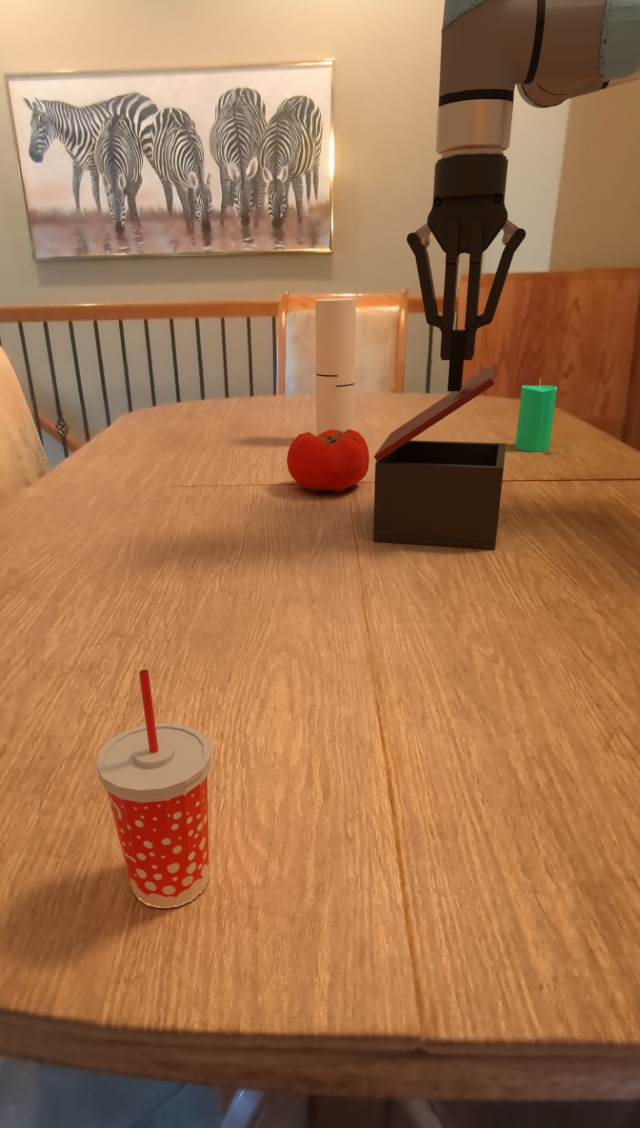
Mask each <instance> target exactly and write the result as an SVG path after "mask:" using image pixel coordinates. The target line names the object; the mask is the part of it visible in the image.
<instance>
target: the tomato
mask: <svg viewBox="0 0 640 1128" xmlns="http://www.w3.org/2000/svg"><path fill="white" fill-rule="evenodd" d="M342 432H343V431H342ZM342 432H341V431H340V430H332V429H330V430H328V431H326V432H323V433H321V434H320V435H319V436H317V435H315V434H314V433H312V432H310V431H307V432H302V433H299V434H298V435H297V436H296V437H295V438H294V439H293V440H292V442H291V443H290V446H289V448H288V450H287V456H286V465H287V470H288V473H289V474H290V476H291V478H292V479H293V480H294V481H295V482H296V484H297V485H298V486H300V487H303V488H305V489H308V490H310V491H312V492H315V493H317V492H324V491H330V492H342V491H344V490H346V489H348V488H351V487H352V486H354V485H355V484H357V483H360V481H362V480H363V479H364V478H365V477H366V476H367V473H368V471H369V467H370V450H369V447H368V443H367V441H366V439H365V437H363V436H362V435H361V433H360V432H359V431H356V430H355V429H354V430H350V429H348V430H346V431H345V432H344V433H342Z"/></svg>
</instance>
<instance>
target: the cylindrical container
mask: <svg viewBox="0 0 640 1128" xmlns="http://www.w3.org/2000/svg"><path fill="white" fill-rule="evenodd" d="M314 301H315V303H314V304H315V305H314V306H315V307H314V308H315V309H314V310H315V391H316V392H315V405H316V406H315V410H316V411H315V413H316V416H315V417H316V422H315V423H316V425H315V426H316V436H319V435H320V434H321V433H323V432H326V431H328V430H330V429H332V430H340V431H341V432H342V431H343V432H342V433H344V432H345V431H346V430H348V429H350V430H354V431H355V406H356V405H355V404H356V403H355V402H356V401H355V398H356V397H355V393H356V389H355V388H356V326H357V325H356V320H357V319H356V318H357V317H356V316H357V315H356V314H357V299H356V298H354V297H337V298H335V297H332V298H319V299H314Z"/></svg>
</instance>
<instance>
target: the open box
mask: <svg viewBox="0 0 640 1128" xmlns="http://www.w3.org/2000/svg"><path fill="white" fill-rule="evenodd" d="M506 448H507V443H504V442H479V441H478V442H477V441H476V442H473V441H447V440H446V441H444V440H443V441H441V440H415V439H414V440H413V439H411V440H410V441H408V442H407V443H405V444H404V445H402V446H401V447H399V448H398V449H396V450H395V451H393V452H392V453H390V454H389V455H387V456H386V457H384V458H383V459H381V460H380V461H378V462H377V461H376V462H375V464H374V495H373V496H374V497H373V501H374V502H373V530H372V531H373V532H372V533H373V534H372V541H373V543H374V542H377V543H392V544H405V545H406V544H407V545H419V546H433V547H434V546H435V547H451V548H462V549H463V548H464V549H479V550H493V551H495V550H496V545H497V536H498V535H497V534H498V526H499V515H500V507H501V496H502V487H503V478H504V469H505V459H506V450H507V449H506Z"/></svg>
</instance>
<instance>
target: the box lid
mask: <svg viewBox="0 0 640 1128" xmlns="http://www.w3.org/2000/svg"><path fill="white" fill-rule="evenodd" d="M498 372H499V367H498V365H497V363H496V362H494V363H492V364H490V366H488V367H486V368H485V369H484V370H482V371H480V372H478V374H476V375H475V376H473V377H471V378H470V379H469V380H467V381H466V382H464V383H462V388H461V391H450V393H447V394H446V395H445V396H443V397H442V398H440V399H439V400H438V401H436V402H435V403H433V404H431V405H430V406H429V407H427V408H426V409H424V410H423V411H422V412H420V413H418V414H417V415H415V416H414V417H412V418H411V419H409V420H408V421H407V422H405V423H404V424H402V425H401V426H399V427H398V428H396V429H395V430H394V431H392V432H391V433H389V435H388V436H387V437H386V439H385V440H384V442H383V443H382V444H381V446H379V449H378V450H376V453H375V454H374V455H373V458H374V459H375V461H376V462H378V461H380V460H381V459H383V458H384V457H386V456H387V455H389V454H390V453H392V452H393V451H395V450H396V449H398V448H399V447H401V446H402V445H404V444H405V443H407V442H408V441H410V440H413V439H415V438H416V437H417V436H419V435H420V434H422V433H423V432H425V431H426V430H428V429H429V428H431V427H433V426H434V425H435V424H437V423H439V422H440V421H441V420H443V419H445V418H446V417H447V416H449V415H451V414H452V413H454V412H456V411H457V410H458V409H460V408H461V407H463V406H464V405H467V404H468V403H469V402H470V401H472V400H473V399H475V398H476V397H478V396H480V395H481V394H482V393H484V392H485V391H487V390H488V389H491V388H492V387H493V386H495V384H496V380H497V375H498Z"/></svg>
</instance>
